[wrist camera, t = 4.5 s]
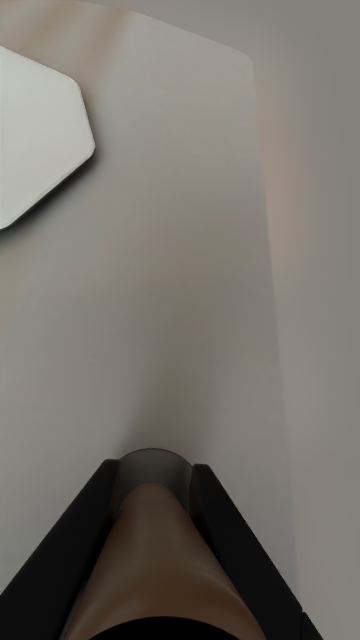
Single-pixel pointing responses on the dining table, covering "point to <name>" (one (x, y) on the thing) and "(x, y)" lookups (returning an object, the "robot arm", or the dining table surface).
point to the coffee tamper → (158, 566)
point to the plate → (37, 134)
